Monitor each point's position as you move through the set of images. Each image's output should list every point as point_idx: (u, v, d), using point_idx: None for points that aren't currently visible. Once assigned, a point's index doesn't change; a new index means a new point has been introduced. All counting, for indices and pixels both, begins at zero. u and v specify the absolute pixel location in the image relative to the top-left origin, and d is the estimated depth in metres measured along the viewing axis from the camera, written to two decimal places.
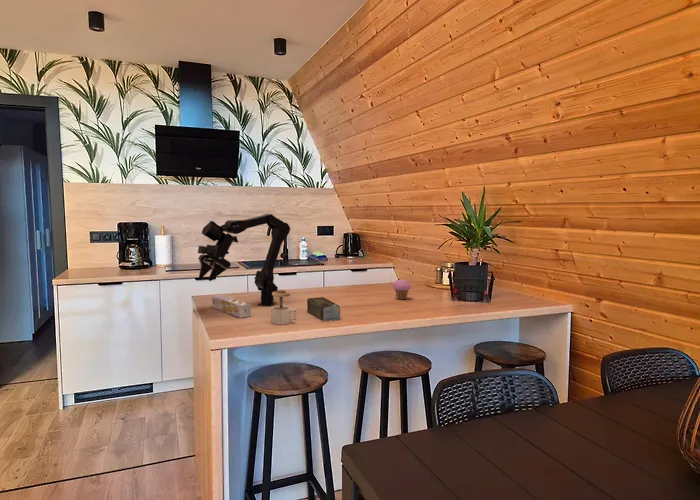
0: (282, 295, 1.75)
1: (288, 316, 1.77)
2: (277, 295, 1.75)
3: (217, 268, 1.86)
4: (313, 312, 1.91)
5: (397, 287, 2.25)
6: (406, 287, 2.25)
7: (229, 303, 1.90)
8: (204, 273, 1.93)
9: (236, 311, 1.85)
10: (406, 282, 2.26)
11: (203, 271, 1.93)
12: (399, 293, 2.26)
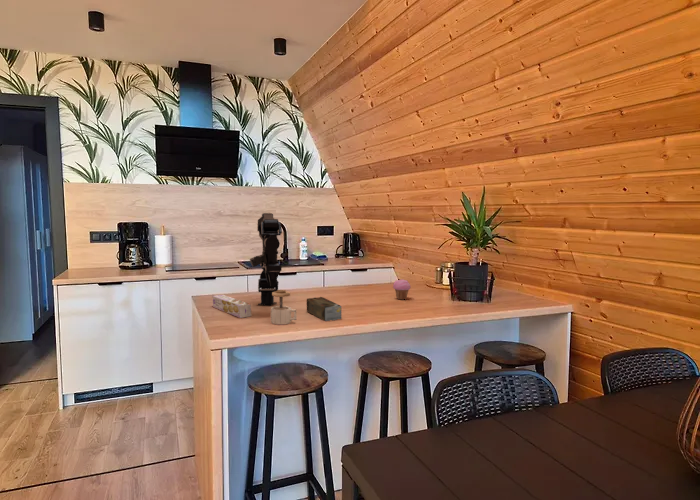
0: (282, 295, 1.75)
1: (288, 316, 1.77)
2: (277, 295, 1.75)
3: (272, 273, 1.87)
4: (313, 312, 1.91)
5: (397, 287, 2.25)
6: (406, 287, 2.25)
7: (229, 303, 1.90)
8: None
9: (237, 311, 1.85)
10: (406, 282, 2.26)
11: (269, 276, 1.96)
12: (399, 293, 2.26)
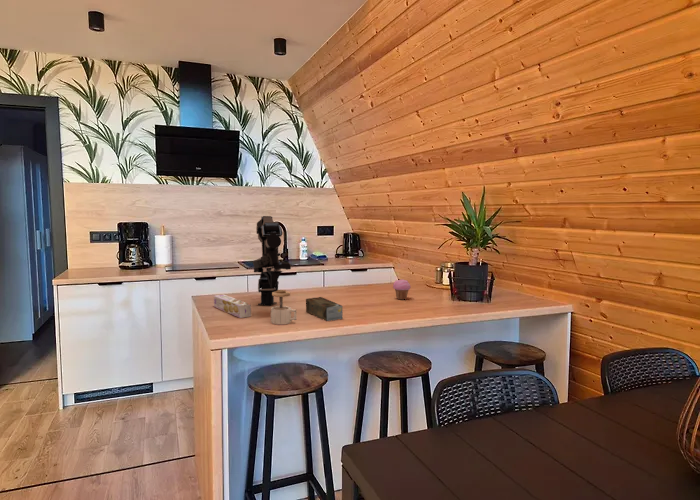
0: (282, 295, 1.75)
1: (288, 316, 1.77)
2: (277, 295, 1.75)
3: (274, 274, 1.90)
4: (314, 312, 1.90)
5: (397, 287, 2.25)
6: (406, 287, 2.25)
7: (230, 303, 1.90)
8: None
9: (237, 311, 1.85)
10: (406, 282, 2.26)
11: None
12: (399, 293, 2.26)
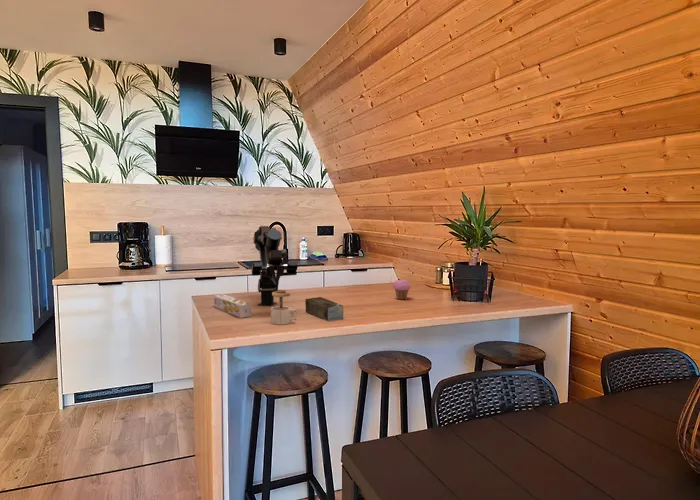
0: (282, 295, 1.75)
1: (288, 316, 1.77)
2: (277, 295, 1.75)
3: None
4: (314, 312, 1.90)
5: (397, 287, 2.25)
6: (406, 287, 2.25)
7: (230, 303, 1.90)
8: None
9: (237, 311, 1.85)
10: (406, 282, 2.26)
11: None
12: (399, 293, 2.26)
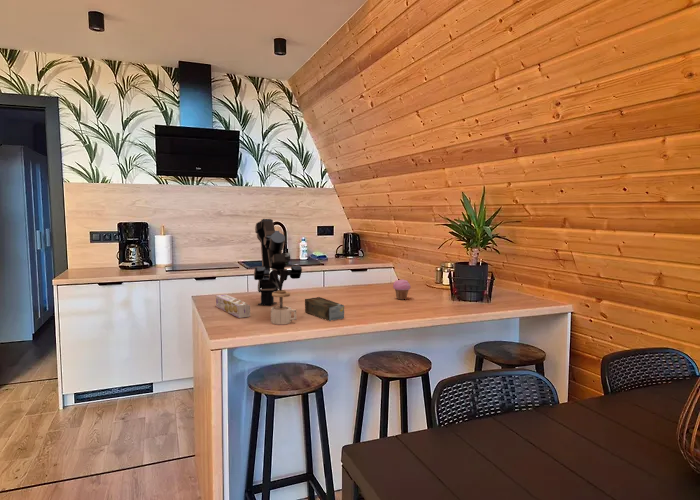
0: (282, 295, 1.75)
1: (288, 316, 1.77)
2: (277, 295, 1.75)
3: None
4: (314, 312, 1.90)
5: (397, 287, 2.25)
6: (406, 287, 2.25)
7: (230, 303, 1.90)
8: None
9: (236, 311, 1.85)
10: (406, 282, 2.26)
11: None
12: (399, 293, 2.26)
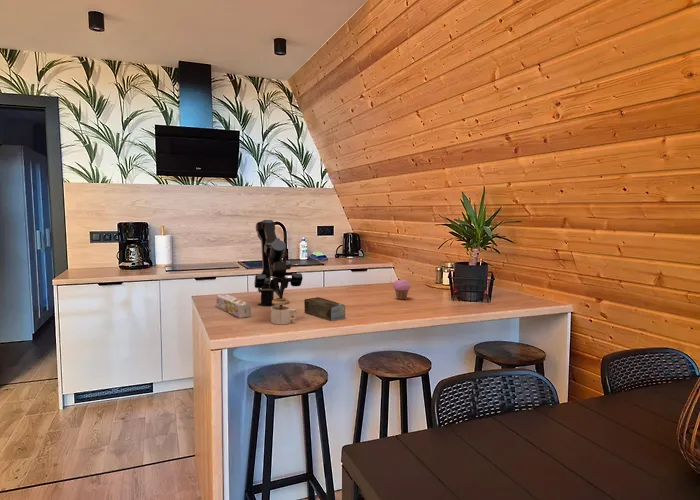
0: (282, 303, 1.75)
1: (288, 316, 1.77)
2: (277, 303, 1.75)
3: None
4: (315, 313, 1.90)
5: (397, 287, 2.25)
6: (406, 287, 2.25)
7: (230, 303, 1.91)
8: None
9: (236, 311, 1.85)
10: (406, 282, 2.26)
11: None
12: (399, 293, 2.26)
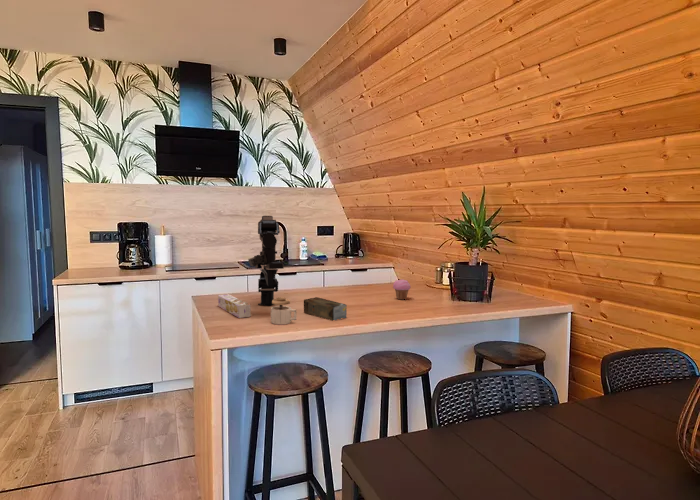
0: (282, 303, 1.75)
1: (288, 316, 1.77)
2: (277, 303, 1.75)
3: (270, 272, 1.92)
4: (315, 313, 1.90)
5: (397, 287, 2.25)
6: (406, 287, 2.25)
7: (231, 303, 1.91)
8: None
9: (236, 311, 1.85)
10: (406, 282, 2.26)
11: None
12: (399, 293, 2.26)
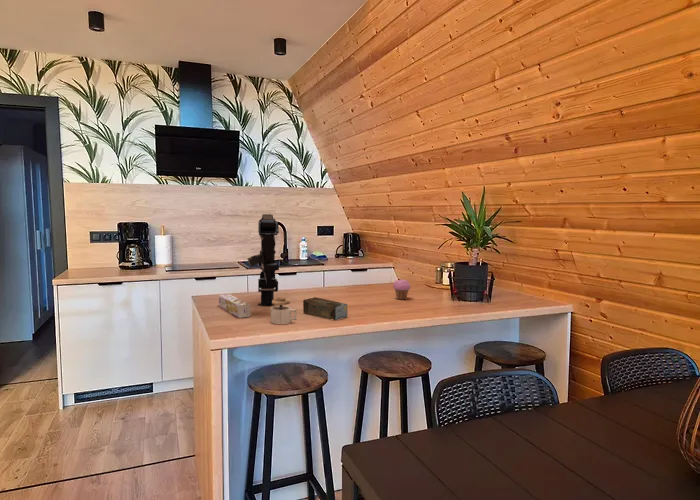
0: (282, 303, 1.75)
1: (288, 316, 1.77)
2: (277, 303, 1.75)
3: (268, 271, 1.92)
4: (316, 313, 1.89)
5: (397, 287, 2.25)
6: (406, 287, 2.25)
7: (231, 303, 1.91)
8: None
9: (236, 311, 1.85)
10: (406, 282, 2.26)
11: None
12: (399, 293, 2.26)
